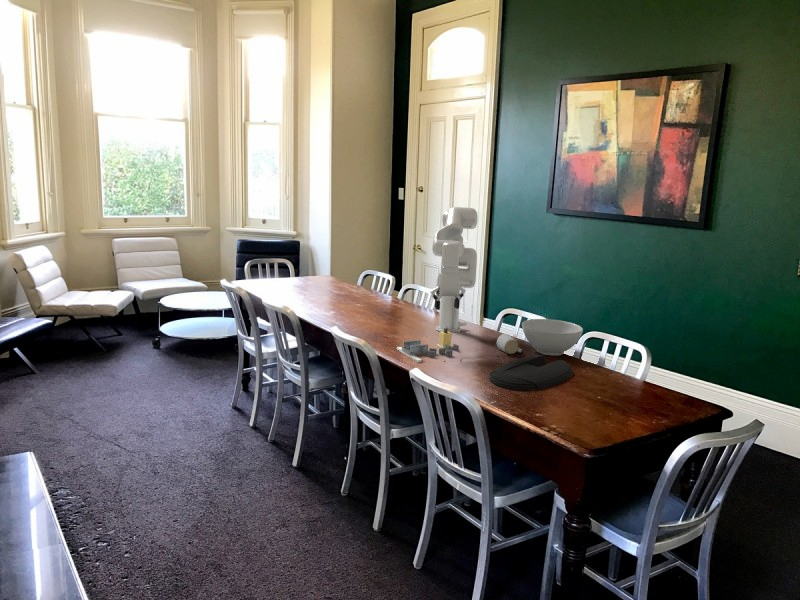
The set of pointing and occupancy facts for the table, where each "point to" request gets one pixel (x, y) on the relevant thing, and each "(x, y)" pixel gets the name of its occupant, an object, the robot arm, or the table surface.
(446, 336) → the connector
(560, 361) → the folded dark cloth
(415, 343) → the end holder
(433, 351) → the board
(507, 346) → the ceramic mug
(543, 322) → the decorative bowl
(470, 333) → the table surface
